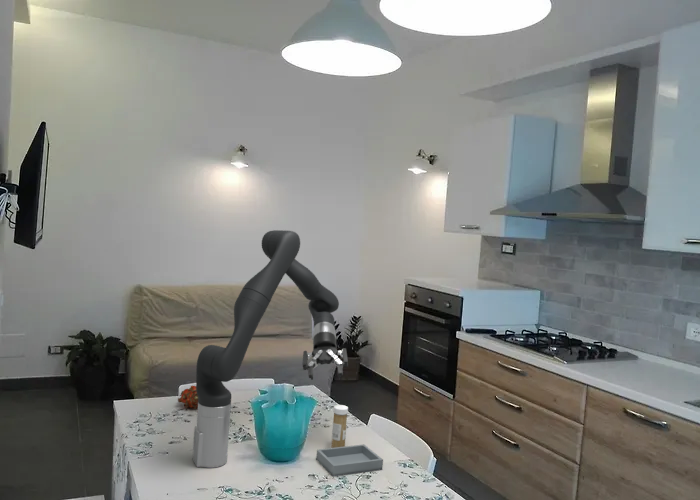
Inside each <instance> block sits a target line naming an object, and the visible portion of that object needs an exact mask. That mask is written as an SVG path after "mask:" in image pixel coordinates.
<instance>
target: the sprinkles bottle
mask: <svg viewBox="0 0 700 500" xmlns="http://www.w3.org/2000/svg"><path fill="white" fill-rule="evenodd" d="M348 413H349V407H348V406H346V405H344V404H336V405H334V406H333V420H332V432H331V446H330V448H336V447H345V446H346V437H347V418H348Z"/></svg>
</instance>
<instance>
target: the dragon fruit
mask: <svg viewBox="0 0 700 500" xmlns="http://www.w3.org/2000/svg"><path fill="white" fill-rule="evenodd" d="M177 402H178V403H182V404H183V406H184V408H185V409H189V408H190V409H193V410H198V395H197V392H196V385H190V386H189V388H184V390H182V391H181V393H180V395H179V397H177Z"/></svg>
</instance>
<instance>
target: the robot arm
mask: <svg viewBox="0 0 700 500" xmlns="http://www.w3.org/2000/svg"><path fill="white" fill-rule="evenodd" d="M261 239H262V240H261V248H262V249H261V250H262V252H263V253H264V254H265V256H266V257H267V258H268V259H269V262H268V263H267V264H266V265H265V266H264V267H263V268H262V269H261V270H260V271H258V272H257V273H256V274H254V275H253V276H252V277H251V278H250V279H249V280H248V281H247V282H246V283H245V284H244V285H243V287H242V289H241V291H240V293H239V294H238V296H237V298H236V300H235V303H234V306H233V317H234V318H233V319H234V320H233V321H234V322H233V323H234V325H233V326H234V328H233V333H232V335H231V337H230V340H229V342H228V343H227V345H226V347H223V346H220V345H219V346H218V345H215V344H208V345H206V346H204V347H203V348H202V349H201V350H200V352H199V354H198V357H197V360H196V361H197V362H196V372H195V376H196V378H195V383H196V384H195V386H196V392H197V395H198V408H197V415H196V426H194V429H193V447H192V460H193V463H194V464H195V467H197V468H199V467H200V468H213V469H214V468H217V467H218V468H219V467H222V466H224V465H226V463H227V462H228V454H229V453H228V452H229V451H228V450H229V440H230V439H229V436H230V426H231V425H230V423H231V422H230V421H231V408H232V393H231V391H230V390H229V389H228V388H227V387H226V386H225V385H224V383H228V382H230V381H231V380H233V379H234V378H235V377H236V375H237V373H238V372H239V370H240V368H241V366H242V364H243V362H244V359H245V355H246V353H247V351H248V348H249V346H250V344H251V343H250V342H252V339H253V336H254V334H255V332H256V330H257V328H258V326H259V323H260V321H261V320H262V319H263V317H264V314H265V313H266V311H267V309H268V307H269V305H270V304H271V301H272V299H273V296H274V294H275V292H276V290H277V289H278V287H279V286H280V284H281V281H282V279H283V278H284V276H285V275H286V276H287V277H289V279H290V280H291V281H292V282H293V283H294V284H295V285H296V287H297V288H298V290H299V291H300V292H301V294H303V296H304V297H305V298H306V300H308V301H309V303H308V310H309V312H310V314H311V316H312V321H313V331H312V345H313V346H312V351H311V352H308V351H307V350H304V351H303V353H302V354H303V355H302V362H301V363H302V364H301V365H302V370H303V371H306V370H307V371H308V373H307V375H308V379H310V380H311V381H312V380H314V369H315V368H317V367H318V366H319V365H331V364H332V365H333V366H335V367H337V375H338V379H342V377H343V375H344V373H343V372H344V371H343V370H344V369H343V368H348V367H349V363H348V361H349V360H348V359H349V358H348V353H347V348H346V347H345V348H344V347H343V348H342V349H341V350H340V349H339V350H338V349H337V334H336V328H335V326H336V325H335V317H334V315H333V314H332V313H334V312H336V311H338V309H339V305H340V302H339V299H338V297H337V295H336V294H334V292H332V291H331V290H330V289H328V288H327V287H326V286H324V285H323V284H322V283H321V282H320V281H319V279H318V278H317V276H316V275H315V274H314V273H313V271H311V270H310V269H309V268H308V267H306V266H305V265H303V264H302V263H301V262H299V260H297V259H296V257H297V256H298V254H299V251H300V248H301V239H300V236H299V234H298V233H297V232H296V231H293V230H284V229H283V230H278V229H277V230H274V229H273V230H269V231H266V233H264V235H263V236H262V238H261ZM338 356H340V357H341V359H342V358H343V360H341V359H340V358H339V357H338ZM311 357H312V358H311ZM310 359H311V360H310ZM309 360H310V361H309ZM308 361H309V363H308Z"/></svg>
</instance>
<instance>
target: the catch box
mask: <svg viewBox="0 0 700 500" xmlns="http://www.w3.org/2000/svg"><path fill="white" fill-rule="evenodd" d="M315 457H316V458H315V459H316V461H317V462H318V463H319V464H320V466H322V467H323V468H324V469H325V471H327V472H328V473H329V474H330V475H331V477H340V476H346V475H353V474H354V473H355V474H360V473H366V472H367V473H368V472H374V471H375V472H376V471H381V470H382V471H383V468H384V467H383V466H384V459H383V458H382V457H381V456H379V455H378V454H377V453H376V452H374V450H372V449H371V448H369V447H368V446H367V445H366V444H355V445H347V446H346V445H345V447H336V448H331V447H330V448H329V447H328V448H320V449H317V450H316V456H315Z"/></svg>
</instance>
